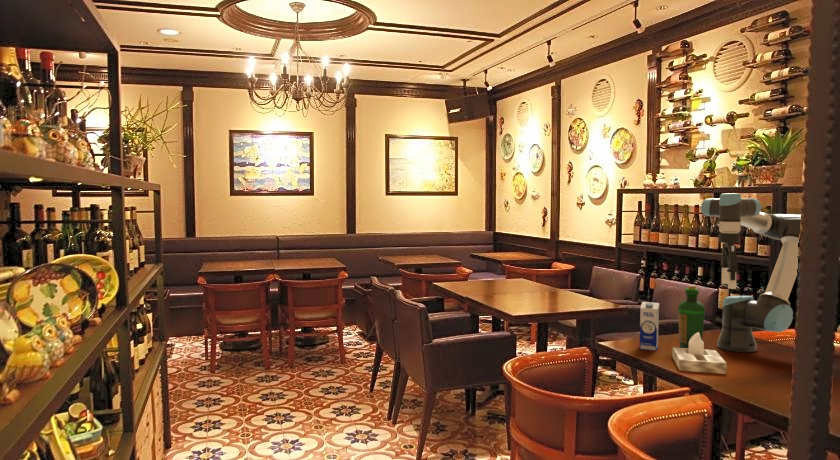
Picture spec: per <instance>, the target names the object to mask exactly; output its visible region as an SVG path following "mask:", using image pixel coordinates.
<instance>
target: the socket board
mask: <svg viewBox="0 0 840 460" xmlns="http://www.w3.org/2000/svg"><path fill="white" fill-rule="evenodd" d="M671 356H672V359H673V360H674V363H675V364H676V366H677V368H678V370H679V371H684V372H697V373H706V374H707V373H710V374H719V375H720V374H722V375H727V368H728V366H727V364H728V363H727V362H726V361H725V360H724V358H723V357H722V356H721V355H720V354H719V353H718V351H716V350H715V349H704V355H701V354H688V348H680V347H672V355H671Z"/></svg>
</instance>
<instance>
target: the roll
mask: <svg viewBox="0 0 840 460" xmlns="http://www.w3.org/2000/svg"><path fill="white" fill-rule="evenodd" d="M704 343H705V342H704V341H703V339H702V340H701V338H700V333H699V332H698V333H696V334H694V335H693V336H692V337H691V338H690V341H689V348H688V354H701V355H704V348H705V344H704Z"/></svg>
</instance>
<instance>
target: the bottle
mask: <svg viewBox="0 0 840 460" xmlns="http://www.w3.org/2000/svg"><path fill="white" fill-rule="evenodd" d="M684 294H686V299H684V300H683V301H681V302H680V303H679V305H678V306H677V308H678V309H677V310H678V311H677V313H678V314H677V315H678V336H679V337H678V338H679V339H678V341H679V342H678V343H679V348H689V341H690V338H691V337H692V336H693V335H694V334H696V333H698V332H699V333H700V338H701V340H702V341H703V334H704V323H705V315H706V314H705V311H706V307H705V305H704V304H703V303H702V302H701V301H700V300H698V296H699V294H700V293H699V289H698V288H697V285H693V284H692V285H691V284H689V285H687V287H686V288H685V293H684Z"/></svg>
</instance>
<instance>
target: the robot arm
mask: <svg viewBox="0 0 840 460" xmlns="http://www.w3.org/2000/svg"><path fill="white" fill-rule="evenodd" d="M700 210H701V213H702V215H704V216H706V217H716V218H719V219H718V220H719V221H718V223H717V227H718V229H719V230H718V232H719V233H718V242H719V243H722V251H721V260H720V266H721V285H727V289H728V290H729V289H730V290H736V289H737V273H738V272H737V271H739V268H738V258H737V257H738V255H737V249H738V248H737V245H735V244H738V243H739V244H740V243H741V233H740V232H741V231H742V230H741V228H742V227H745V228H748V229H751V230H752V232H754V233H756V234H757V235H758V234H759V235H761V236H764V237H768V238H770V239H773V240H777V241H781V244H782V246H781V249H780V251H779V254H778V258H777V259H776V263H775V265H774V268H773V270H772V273H771V276H770V279H769V282H768V284H767V287H766V289H765V292H763V293H760V294H759V296H758V299H757V300H755V299H754V296H752V295H729V296H726V297H724V298H723V301H722V306H721V307H722V321H721V324H722V325H721V326H722V327H721V332H720V333H719V337H718V339H717V342H716V343H717V344H716V346H717V348H719V349H722V350H725V351H729V352H738V353H754V352H757V343H756V339H755V337H754V334H753V329H758V330H763V331H767V332H770V333H771V332H773V333H782V332H784V331H786V330H787V329H788V328H789V327H790V326H791V324H792V322H793V319H794V316H793V315H794V311H793V308H792V307H791V303H790V301H789V298H790V296H791V295H790V294H791V292H792V289H793V286H794V284H795V281H796V278H797V276H798V273H797V269H798V258H797V256H798V243H799V233H800V219H801V214H800V213H799V214H795V213H793V214H792V213H767V212H761V211H762V204H761V201H759V199H756V198H753V197H742V195H741V193H739V192H738V193H737V192H736V193H735V192H733V193H732V192H731V193H729V192H728V193H727V192H726V193H721V194H720V195H719V198H715V197H714V198H713V197H712V198H705V199H704V200H703V201H702V202H701V206H700Z"/></svg>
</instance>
